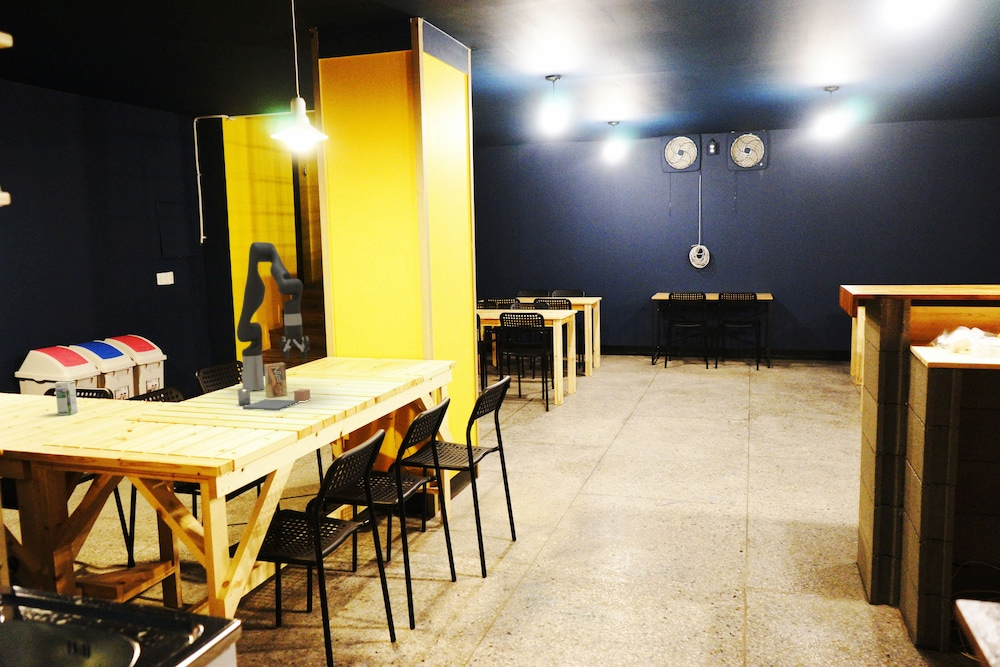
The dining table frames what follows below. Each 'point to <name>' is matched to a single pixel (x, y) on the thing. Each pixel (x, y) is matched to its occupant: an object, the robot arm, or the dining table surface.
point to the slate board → (270, 404)
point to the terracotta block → (302, 395)
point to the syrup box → (66, 397)
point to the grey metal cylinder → (244, 396)
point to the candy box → (275, 379)
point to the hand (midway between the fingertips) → (295, 359)
